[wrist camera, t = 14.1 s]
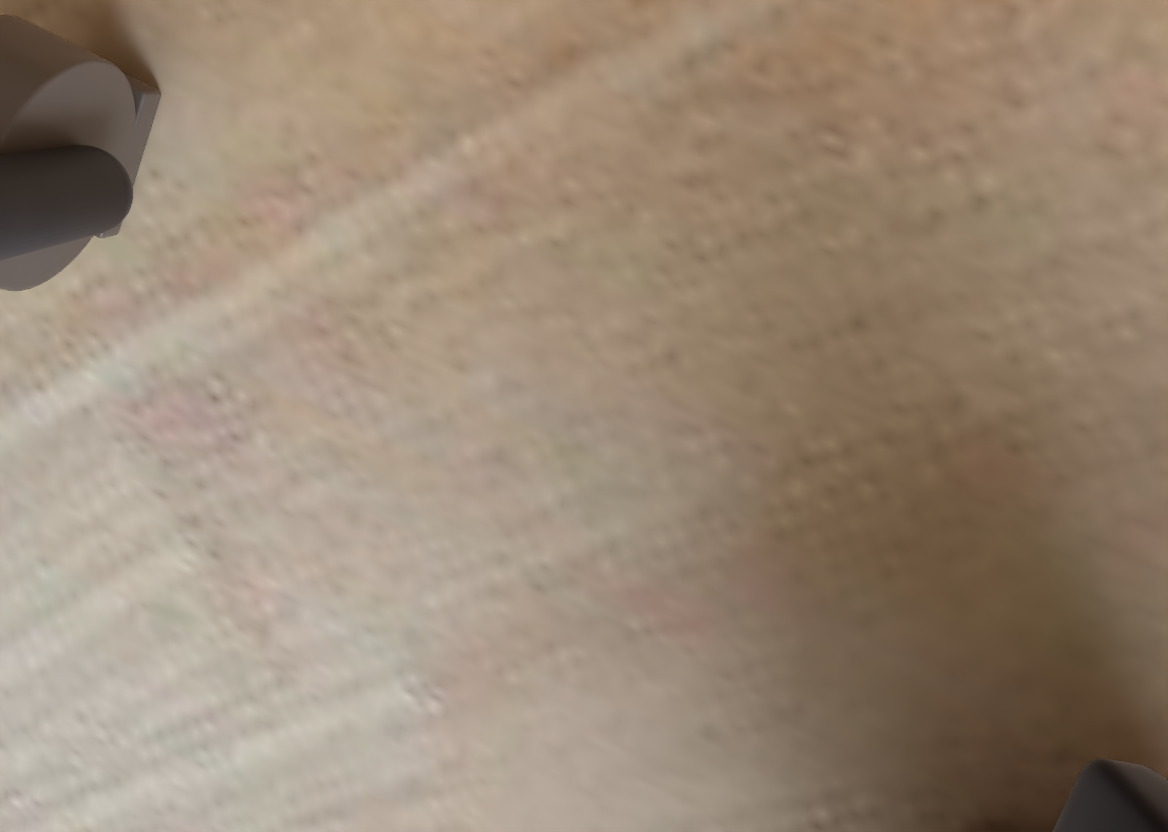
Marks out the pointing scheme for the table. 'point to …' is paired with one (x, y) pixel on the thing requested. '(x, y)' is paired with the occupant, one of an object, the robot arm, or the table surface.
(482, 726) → the table surface
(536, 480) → the table surface
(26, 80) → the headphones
